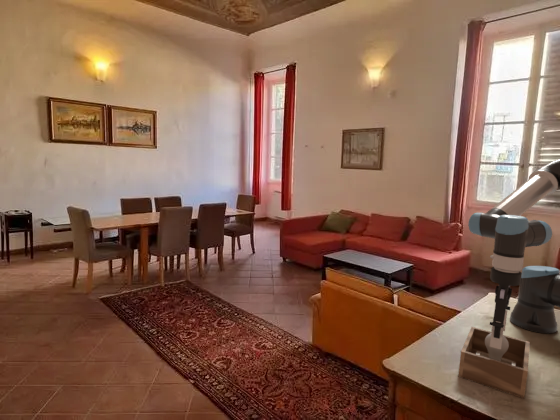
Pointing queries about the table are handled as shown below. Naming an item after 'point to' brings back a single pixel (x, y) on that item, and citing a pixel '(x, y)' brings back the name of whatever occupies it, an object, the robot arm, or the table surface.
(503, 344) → the lightbulb
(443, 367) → the table surface
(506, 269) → the robot arm
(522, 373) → the crate
